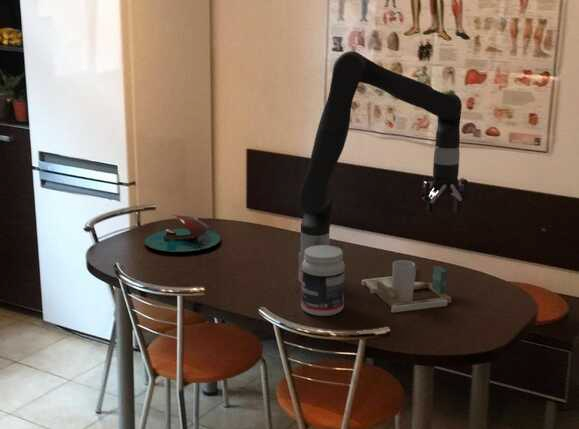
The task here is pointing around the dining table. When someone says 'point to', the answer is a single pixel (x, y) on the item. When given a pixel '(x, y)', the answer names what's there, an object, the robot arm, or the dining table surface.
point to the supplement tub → (323, 280)
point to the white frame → (436, 286)
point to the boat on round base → (184, 237)
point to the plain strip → (390, 280)
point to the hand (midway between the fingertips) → (443, 213)
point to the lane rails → (409, 306)
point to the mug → (403, 280)
